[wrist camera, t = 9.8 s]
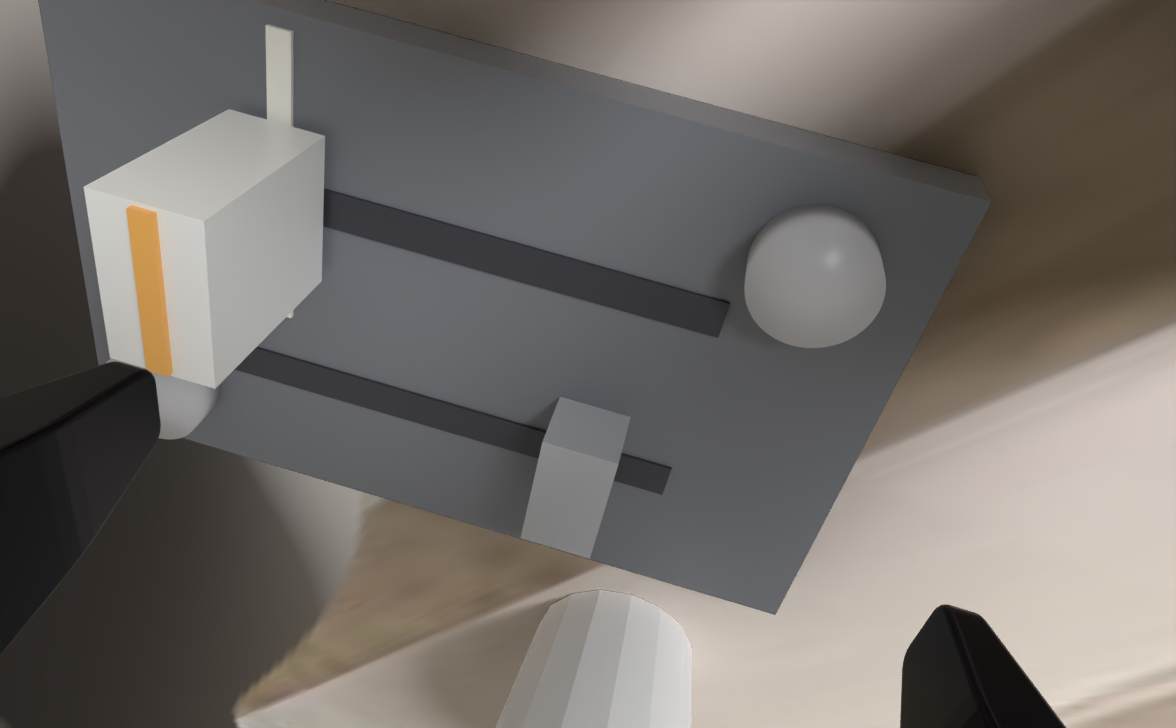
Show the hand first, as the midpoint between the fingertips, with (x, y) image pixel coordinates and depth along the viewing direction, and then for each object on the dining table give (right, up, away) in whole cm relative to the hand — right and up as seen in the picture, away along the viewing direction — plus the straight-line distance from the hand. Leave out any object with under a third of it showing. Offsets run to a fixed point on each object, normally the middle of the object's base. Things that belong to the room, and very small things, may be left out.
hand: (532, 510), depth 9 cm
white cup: (+2, -8, +21) cm, 23 cm away
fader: (-7, +6, +12) cm, 15 cm away
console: (-2, +3, +14) cm, 15 cm away
